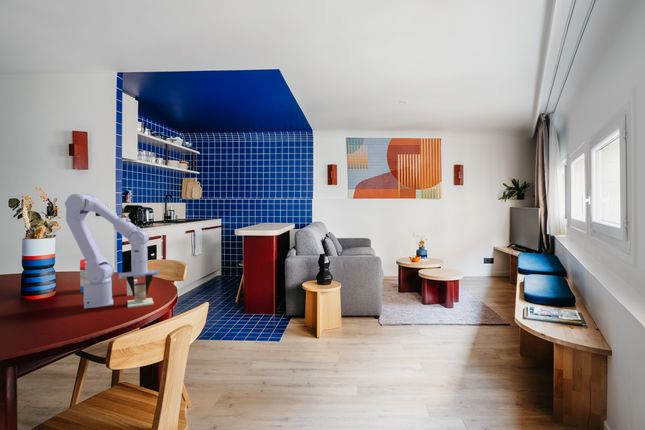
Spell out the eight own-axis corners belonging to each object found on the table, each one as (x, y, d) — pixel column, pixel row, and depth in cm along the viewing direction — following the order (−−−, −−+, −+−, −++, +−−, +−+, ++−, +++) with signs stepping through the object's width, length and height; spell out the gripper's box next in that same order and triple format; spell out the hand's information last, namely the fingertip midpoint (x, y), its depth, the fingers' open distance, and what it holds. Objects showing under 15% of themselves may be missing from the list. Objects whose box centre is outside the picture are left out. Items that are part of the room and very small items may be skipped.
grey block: (127, 295, 155) (126, 282, 155) (127, 293, 159) (126, 280, 159) (137, 294, 157) (137, 281, 157) (137, 292, 161) (137, 279, 161)
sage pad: (127, 307, 138) (127, 306, 138) (127, 302, 146) (127, 300, 146) (153, 304, 142) (153, 303, 142) (152, 299, 150) (152, 297, 150)
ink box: (90, 292, 160) (90, 260, 159) (80, 292, 160) (79, 260, 160) (103, 288, 169) (102, 257, 168) (92, 288, 169) (91, 257, 168)
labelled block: (134, 301, 141) (134, 285, 141) (134, 298, 145) (134, 283, 145) (146, 299, 143) (145, 284, 143) (145, 297, 147) (145, 282, 146)
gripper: (158, 258, 150) (159, 290, 151) (118, 260, 143) (119, 294, 144) (160, 260, 144) (160, 294, 145) (118, 263, 137) (119, 299, 138)
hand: (140, 294), depth 144 cm, fingers closed on labelled block, 4 cm apart
